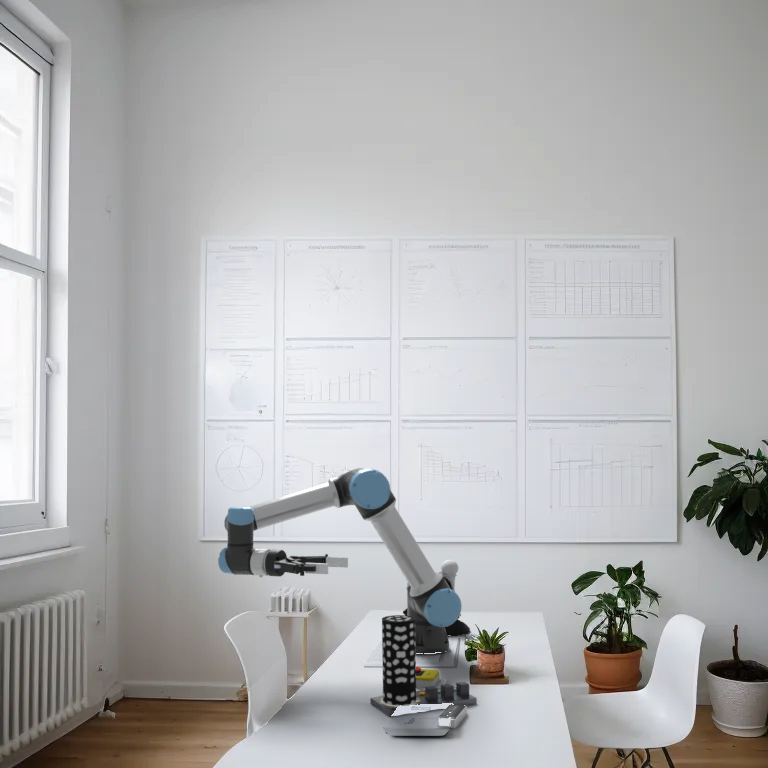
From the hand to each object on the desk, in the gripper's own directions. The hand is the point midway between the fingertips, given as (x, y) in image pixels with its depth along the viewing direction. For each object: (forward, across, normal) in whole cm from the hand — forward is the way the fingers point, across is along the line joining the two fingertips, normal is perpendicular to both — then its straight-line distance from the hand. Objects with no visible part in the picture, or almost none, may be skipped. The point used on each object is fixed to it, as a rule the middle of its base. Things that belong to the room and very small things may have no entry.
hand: (337, 565), depth 233 cm
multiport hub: (+38, +20, -33) cm, 54 cm away
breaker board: (+28, +10, -32) cm, 44 cm away
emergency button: (+20, -8, -33) cm, 39 cm away
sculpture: (+6, -73, -32) cm, 80 cm away
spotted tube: (+23, +15, -30) cm, 41 cm away
